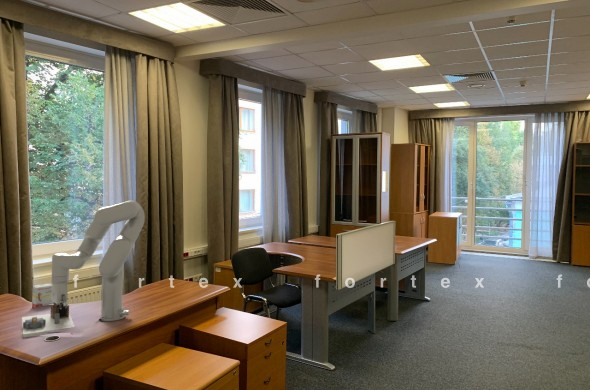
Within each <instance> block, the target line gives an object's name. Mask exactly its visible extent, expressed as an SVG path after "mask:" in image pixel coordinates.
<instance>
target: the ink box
mask: <svg viewBox="0 0 590 390" xmlns="http://www.w3.org/2000/svg"><path fill="white" fill-rule="evenodd" d="M51 292H52V283H43V284H42V283H41V284H36V285H35V284H34V285H33V286H32V297H31V300H32V302H31V308H32V309H36V308H39V307H45V306H51V305H54V304H53V301H52V300H51Z"/></svg>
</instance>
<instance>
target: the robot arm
mask: <svg viewBox="0 0 590 390" xmlns="http://www.w3.org/2000/svg"><path fill="white" fill-rule="evenodd" d="M145 216H146V215H145V211H144V209H143V207H142V205H141V204H140V203H139V202H137V201H136V200H133V199H132V200H131V199H130V200H127V201H124V202H121V203H117V204H114V205H110V206H104V207H101V208H99V209H97V211H96V212H95V213H94V218H93V220H92V221H91V223H90V224H89V226H88V227H87V229H86V230H85V233H84V238H83V240H82V242H81V244H80V246H79V247H78V249H76V252H74V253H73V254H69V253H67V252H58V253H56V252H55V253H54V254H52V257H51V285H52V292H51V300H52V301H53V304H52V305H54V304H59V308H60V309H59V313H60V315H59V317H64V316H66V305H67V304H68V299H69V298H68V295H69V293H68V291H69V290H68V289H69V288H68V283H69V282H70V270H74V271H75V270H77V271H78V270H81V269H82V268H83V267H84V266H86V265H87V264H88V263H89V261H90V259H91V258H92V256H93V255H94V253H95V251H96V250H97V249H98V247H99V245H100V244H101V242H102V241H103V239H104V237H105V236H106V235H107V233H108V231H109V229H110V228H111V226H112V225H113V224H116V223H120V222H123V221H125V222H124V225H123V227H122V229H121V230H120V232H119V233H118V235H117V237H115V239H114V240H112V242H111V243H110V245H109V247H108V248H107V250H106V252H105V254H104V256H103V257H102V260H101V262H100V263H99V266H98V271H99V274H100V275H101V277H102V279H101V280H102V281H101V307H100V309H101V310H100V313H101V314H100V316H101V317H100V318H99V319H98V321H101V322H115V321H120V320H122V319H124V318H125V316H130V313H131V312H130V310H128V309H127V310H126V309H125V307H124V306H123V281H124V280H123V279H124V277H123V276H124V266H125V265H124V264H125V262H126V261H127V258H128V257H129V255H130V253H131V252H132V250H133V247H134V245H135V244H136V242H137V239H138V238H139V235H140V233H141V231H142V229H143V227H144V225H145ZM61 304H62V306H61Z"/></svg>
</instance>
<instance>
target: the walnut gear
mask: <svg viewBox="0 0 590 390" xmlns="http://www.w3.org/2000/svg"><path fill="white" fill-rule="evenodd" d="M66 304H67V305H66V316H64V317H59V319H62V318H66V317H69V314H70V304H68V303H66ZM61 306H62V304H61ZM59 309H60V308H59V304H50V314H51V316H50V317H51V318H52V319H55V313H59Z"/></svg>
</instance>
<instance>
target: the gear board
mask: <svg viewBox="0 0 590 390" xmlns="http://www.w3.org/2000/svg"><path fill="white" fill-rule="evenodd" d="M59 315H60V313H55V319H52V318H51V317H50V316H51V313H45V314H37V315H29V316H21V323H22V324H21V325H22V338H23V339H24V338H32V337H38V336H44V335H52V334H58V333H60V331H58V330H65V329H70V328H75V327H76V326H75V323H74V322H73V319H72V316H71V314H70V313H69V317H66V318H62V319H59Z"/></svg>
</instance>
